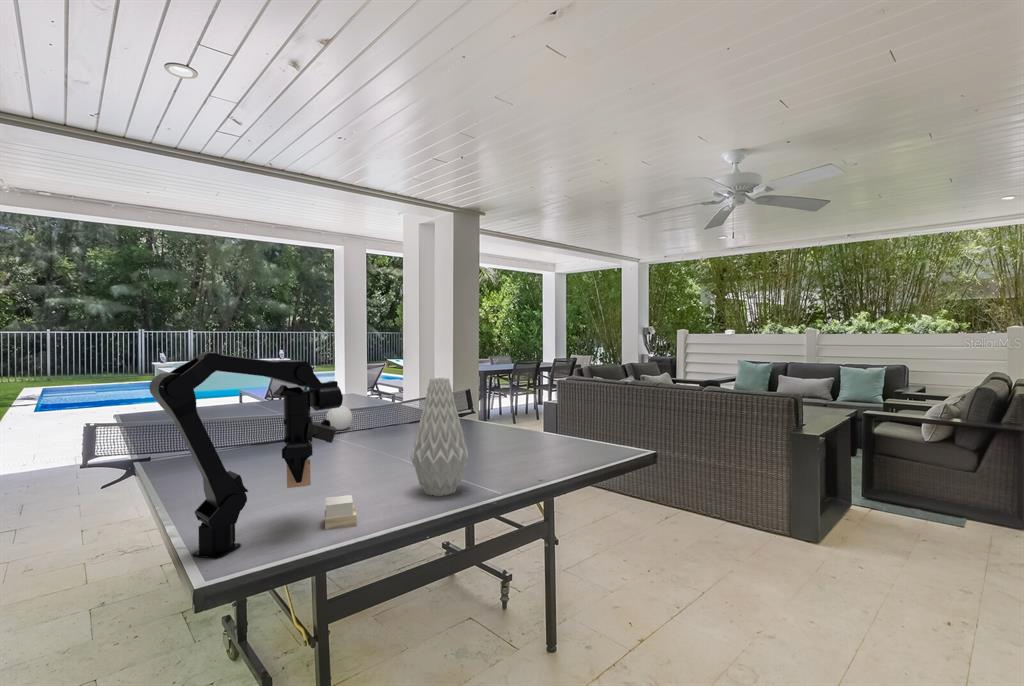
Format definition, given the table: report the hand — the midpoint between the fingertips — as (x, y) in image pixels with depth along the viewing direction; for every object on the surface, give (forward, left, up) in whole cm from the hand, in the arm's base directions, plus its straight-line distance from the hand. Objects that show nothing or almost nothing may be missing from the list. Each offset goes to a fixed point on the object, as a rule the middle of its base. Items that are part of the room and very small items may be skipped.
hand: (299, 479), depth 120 cm
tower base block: (+5, -8, -12) cm, 15 cm away
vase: (+33, -23, -12) cm, 42 cm away
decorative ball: (+119, +59, -12) cm, 133 cm away
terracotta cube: (0, 0, -1) cm, 1 cm away
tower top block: (+4, -8, -9) cm, 13 cm away
